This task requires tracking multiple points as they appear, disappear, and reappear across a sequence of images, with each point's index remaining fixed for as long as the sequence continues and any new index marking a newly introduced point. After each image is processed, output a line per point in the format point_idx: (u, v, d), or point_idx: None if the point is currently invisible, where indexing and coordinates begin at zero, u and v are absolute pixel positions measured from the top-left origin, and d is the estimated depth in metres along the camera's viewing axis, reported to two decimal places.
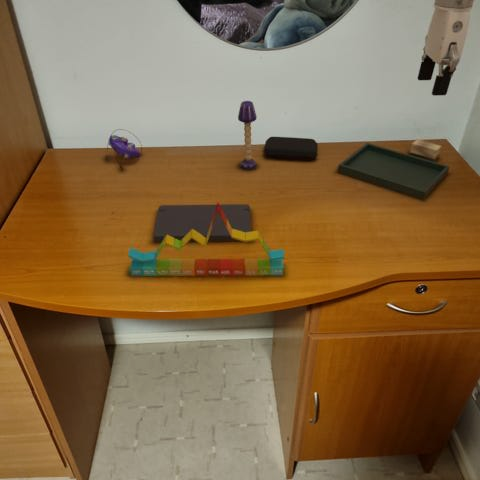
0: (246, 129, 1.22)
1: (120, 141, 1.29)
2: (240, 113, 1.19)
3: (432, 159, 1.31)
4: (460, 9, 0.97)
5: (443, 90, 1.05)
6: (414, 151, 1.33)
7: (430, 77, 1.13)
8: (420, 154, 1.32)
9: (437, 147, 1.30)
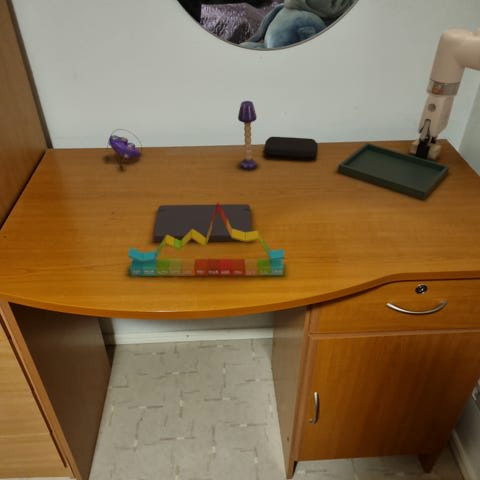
0: (246, 129, 1.22)
1: (120, 141, 1.29)
2: (240, 113, 1.19)
3: (432, 159, 1.31)
4: (437, 95, 1.20)
5: (421, 155, 1.31)
6: (414, 151, 1.33)
7: None
8: None
9: (437, 147, 1.30)
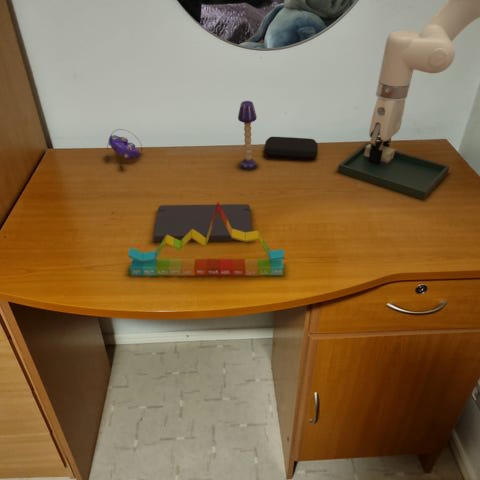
0: (246, 129, 1.22)
1: (120, 141, 1.29)
2: (240, 113, 1.19)
3: (386, 163, 1.28)
4: (386, 98, 1.17)
5: (374, 160, 1.28)
6: (368, 154, 1.30)
7: None
8: None
9: (391, 151, 1.27)
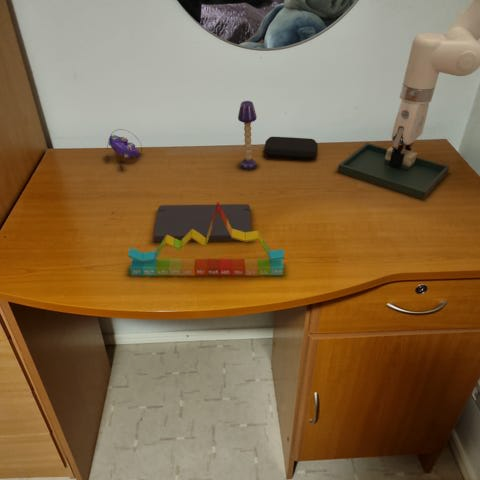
0: (246, 129, 1.22)
1: (120, 141, 1.29)
2: (240, 113, 1.19)
3: (407, 167, 1.26)
4: (410, 101, 1.15)
5: (395, 164, 1.26)
6: (389, 158, 1.28)
7: None
8: None
9: (413, 154, 1.25)
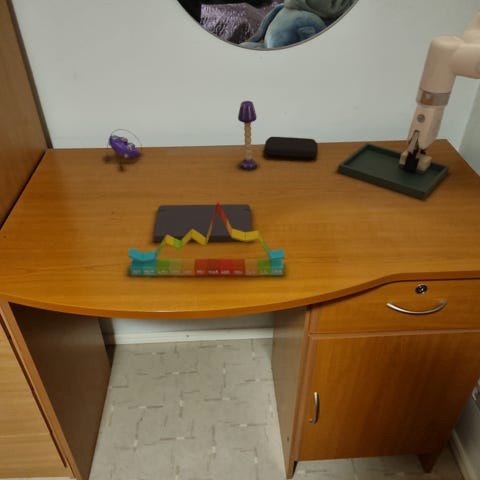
0: (246, 129, 1.22)
1: (120, 141, 1.29)
2: (240, 113, 1.19)
3: (422, 171, 1.25)
4: (426, 105, 1.13)
5: (410, 168, 1.25)
6: (403, 162, 1.26)
7: None
8: None
9: (427, 159, 1.24)
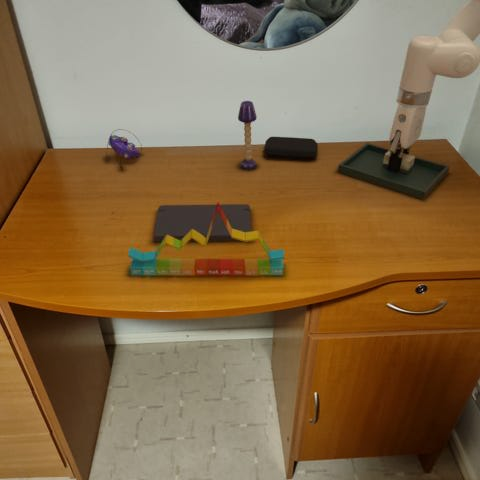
0: (246, 129, 1.22)
1: (120, 141, 1.29)
2: (240, 113, 1.19)
3: (406, 170, 1.25)
4: (407, 105, 1.14)
5: (393, 167, 1.25)
6: (387, 162, 1.27)
7: None
8: None
9: (411, 158, 1.24)
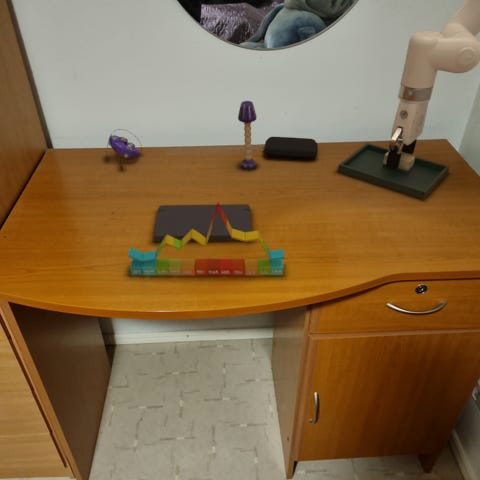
0: (246, 129, 1.22)
1: (120, 141, 1.29)
2: (240, 113, 1.19)
3: (406, 171, 1.25)
4: (408, 101, 1.13)
5: (392, 164, 1.22)
6: None
7: (411, 152, 1.28)
8: None
9: (411, 158, 1.24)
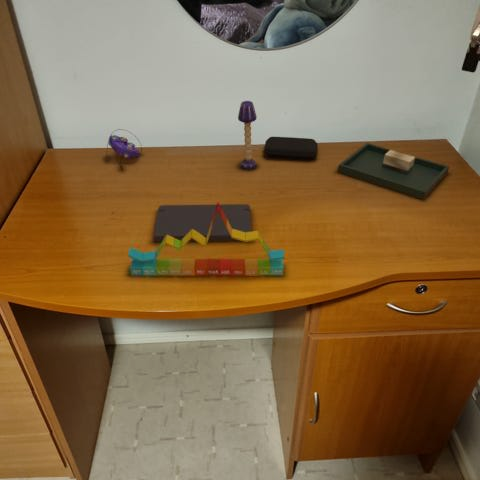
0: (246, 129, 1.22)
1: (120, 141, 1.29)
2: (240, 113, 1.19)
3: (406, 171, 1.25)
4: None
5: (470, 66, 1.13)
6: (387, 162, 1.27)
7: None
8: (393, 165, 1.26)
9: (411, 158, 1.24)
